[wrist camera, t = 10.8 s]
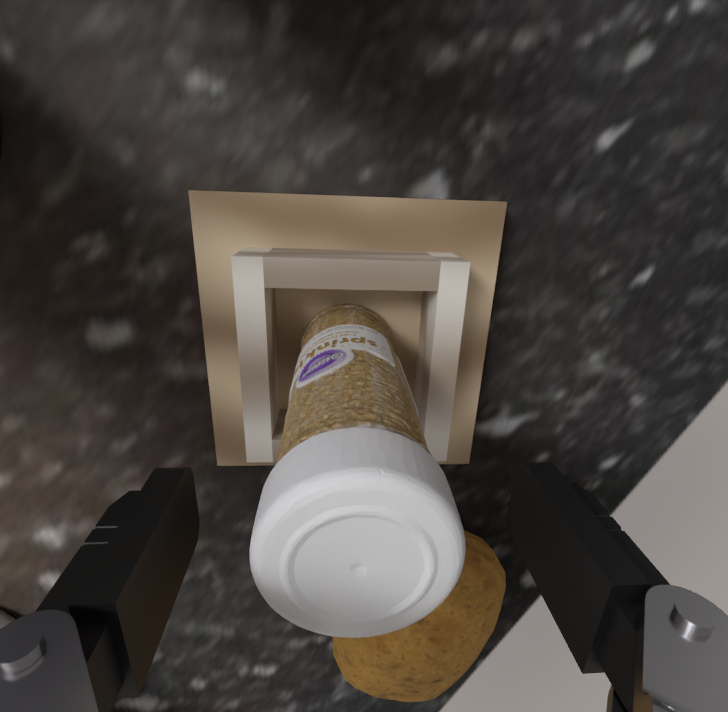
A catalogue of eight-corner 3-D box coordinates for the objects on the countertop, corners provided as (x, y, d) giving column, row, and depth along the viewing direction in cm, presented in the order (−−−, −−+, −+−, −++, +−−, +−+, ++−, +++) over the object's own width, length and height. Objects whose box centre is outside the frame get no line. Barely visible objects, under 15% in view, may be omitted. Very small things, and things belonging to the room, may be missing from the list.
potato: (307, 609, 29) (299, 725, 23) (382, 466, 26) (398, 557, 19) (424, 638, 31) (447, 754, 25) (511, 509, 27) (565, 606, 21)
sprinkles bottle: (347, 281, 20) (365, 431, 7) (410, 347, 21) (516, 567, 9) (280, 345, 21) (196, 575, 8) (345, 404, 22) (356, 678, 10)
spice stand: (198, 190, 19) (160, 189, 15) (495, 201, 20) (536, 203, 16) (224, 450, 24) (201, 503, 20) (461, 449, 25) (486, 499, 21)
